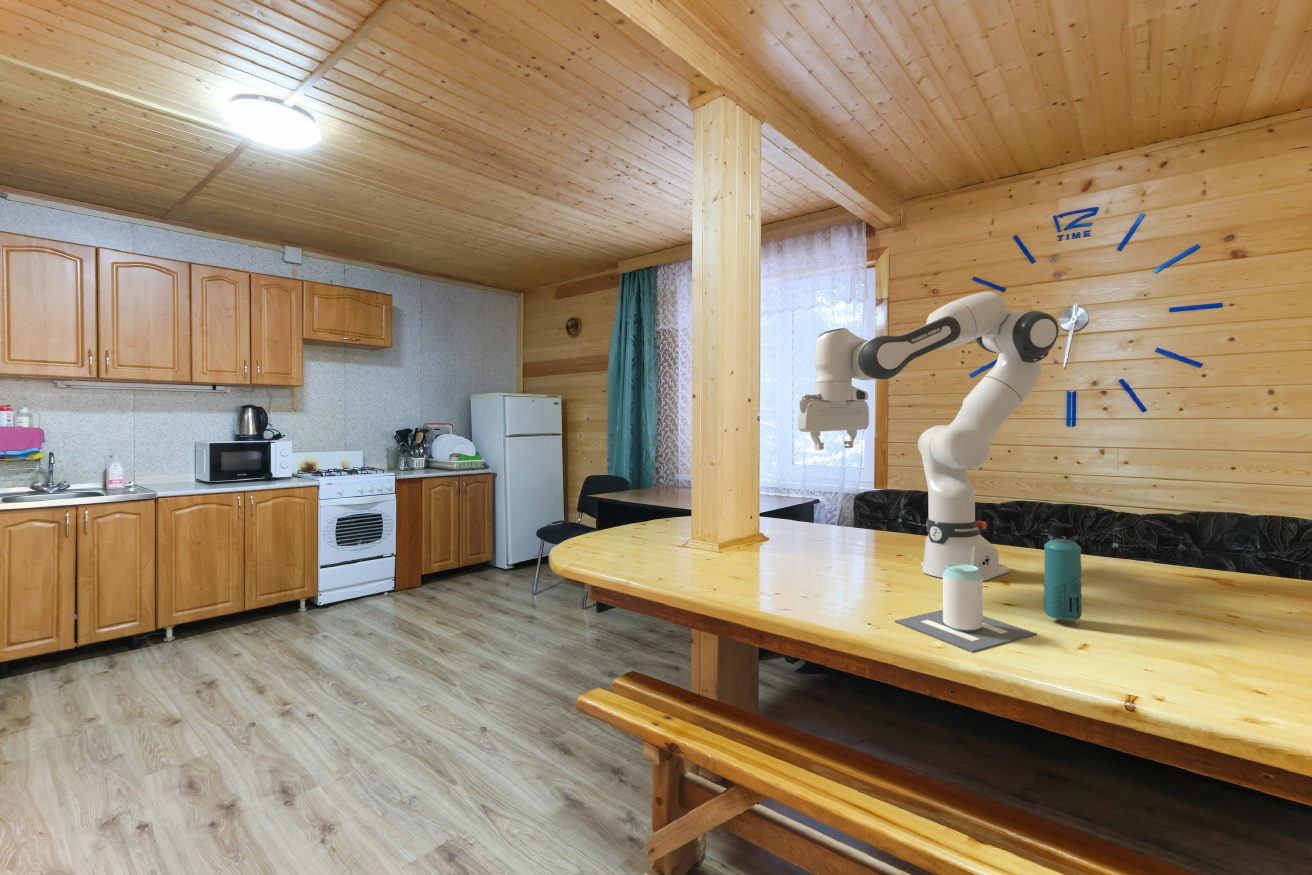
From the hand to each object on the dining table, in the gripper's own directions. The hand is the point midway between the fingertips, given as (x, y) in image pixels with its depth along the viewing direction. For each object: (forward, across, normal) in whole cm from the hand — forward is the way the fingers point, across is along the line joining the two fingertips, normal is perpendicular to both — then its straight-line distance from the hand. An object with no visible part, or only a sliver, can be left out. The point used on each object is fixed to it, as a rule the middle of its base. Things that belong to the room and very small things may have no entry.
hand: (834, 449), depth 153 cm
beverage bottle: (+34, +20, -44) cm, 59 cm away
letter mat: (+34, 0, -37) cm, 50 cm away
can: (+34, 0, -37) cm, 50 cm away
